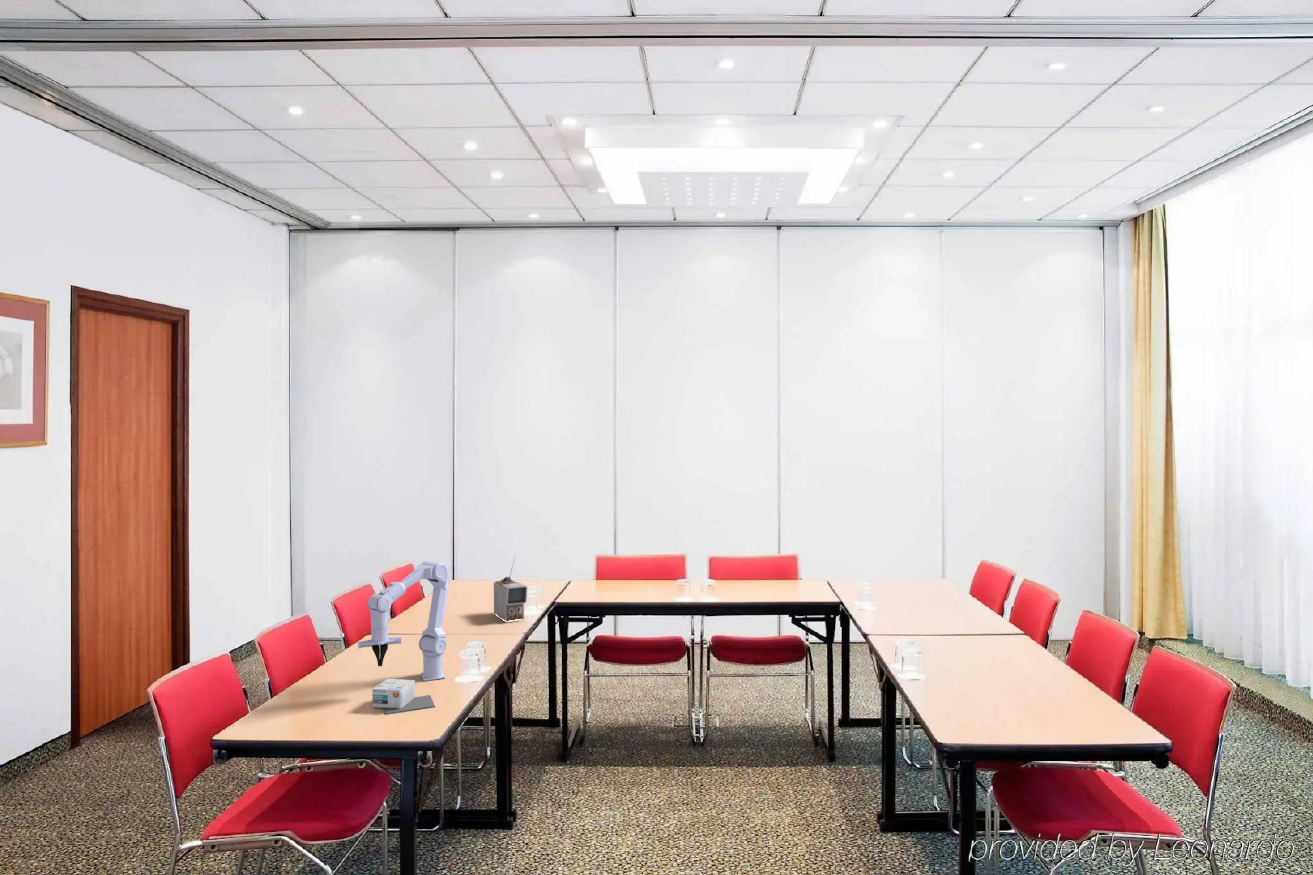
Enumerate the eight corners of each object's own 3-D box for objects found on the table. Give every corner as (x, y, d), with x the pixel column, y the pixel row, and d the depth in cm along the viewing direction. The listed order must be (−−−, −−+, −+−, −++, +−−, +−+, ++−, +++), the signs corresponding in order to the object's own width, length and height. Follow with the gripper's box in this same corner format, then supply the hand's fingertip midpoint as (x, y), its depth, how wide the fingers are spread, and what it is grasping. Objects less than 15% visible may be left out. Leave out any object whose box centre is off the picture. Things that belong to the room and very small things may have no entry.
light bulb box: (387, 696, 273) (371, 708, 263) (387, 677, 273) (371, 688, 262) (415, 698, 272) (400, 709, 261) (415, 679, 271) (400, 690, 261)
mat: (382, 703, 268) (382, 701, 268) (430, 696, 275) (430, 695, 275) (385, 714, 257) (385, 713, 257) (434, 707, 264) (434, 706, 264)
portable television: (507, 625, 374) (506, 563, 374) (492, 614, 395) (491, 556, 394) (530, 621, 380) (530, 561, 379) (515, 611, 401) (514, 554, 400)
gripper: (358, 632, 270) (359, 671, 270) (401, 628, 276) (402, 666, 276) (357, 628, 277) (358, 665, 277) (399, 623, 282) (400, 660, 283)
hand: (380, 665), depth 277 cm, fingers closed
